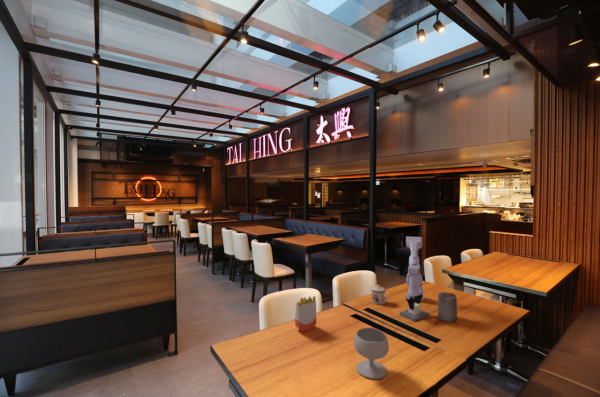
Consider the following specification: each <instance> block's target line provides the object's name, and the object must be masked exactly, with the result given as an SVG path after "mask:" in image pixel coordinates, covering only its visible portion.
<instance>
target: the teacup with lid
mask: <svg viewBox="0 0 600 397" xmlns="http://www.w3.org/2000/svg"><path fill="white" fill-rule="evenodd" d="M370 290H371V303H372V304H373V305H378V306H379V305H381V306H382V305H384V304H385V303H386V301H387V300H388V299H387V298H388V297H387V295H386V289H385V288H384V287H383V286H381V285H380V284H376V285H375V286H372V287H371V289H370Z"/></svg>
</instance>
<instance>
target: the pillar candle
mask: <svg viewBox="0 0 600 397" xmlns="http://www.w3.org/2000/svg"><path fill="white" fill-rule="evenodd" d="M457 297H458V296H457V295H455V294H454V293H451V292H448V291H447V292H446V291H445V292H443V291H442V292H438V293H437V310H438V311H437V316H438V317H437V318H438V319H439V320H441V321H444V322H447V323H456V322H457V321H458V305H457V304H458V302H457V300H458V299H457Z"/></svg>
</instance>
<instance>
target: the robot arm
mask: <svg viewBox="0 0 600 397" xmlns="http://www.w3.org/2000/svg"><path fill="white" fill-rule="evenodd" d="M405 238H406V239H405V245H406V247H407V248H408V249H409V250H410V255H409V256H408V257H409V258H408V267H407V274H406V286H408V290H407V294H406V295H405V300H406V302H407V304H408V305H409V308H410V309H411V310H413V309H414V303H417V304H420V305H421V303H422V301H425V298H424V288H423V276H422V274H421V265H420V257H419V256H418V250H419V249H422V247H423V237H422V236H406V237H405ZM408 305H407V306H408Z"/></svg>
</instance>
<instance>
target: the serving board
mask: <svg viewBox="0 0 600 397" xmlns="http://www.w3.org/2000/svg"><path fill="white" fill-rule="evenodd" d="M399 316H400V317H403V318H405V319H408V320H410V321H412V322H417V321H420V320H422V319H424V318H426V317H429V316H430V312H428V311H425V310H424V309H423V310H422V309H421V313H420V314H417V315H414V314H412V313H409V312H408V309H406V310H403V311H401V312H399Z"/></svg>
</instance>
